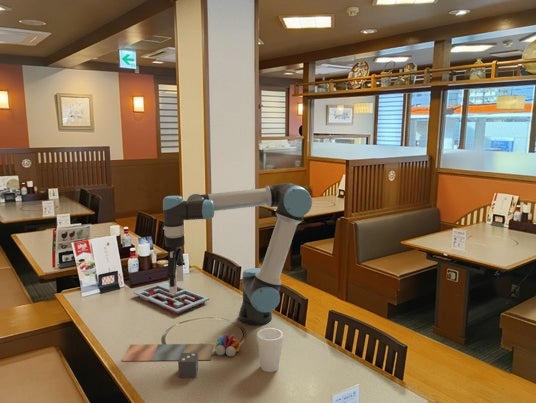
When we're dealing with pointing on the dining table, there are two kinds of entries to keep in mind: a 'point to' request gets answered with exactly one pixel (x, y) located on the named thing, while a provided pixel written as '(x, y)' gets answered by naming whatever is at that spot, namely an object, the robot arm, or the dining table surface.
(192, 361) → the die
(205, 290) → the dining table surface
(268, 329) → the foam cup
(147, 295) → the maze game
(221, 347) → the multicoloured rounded cluster
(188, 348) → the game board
